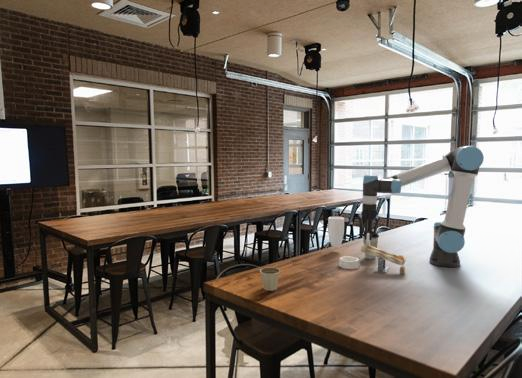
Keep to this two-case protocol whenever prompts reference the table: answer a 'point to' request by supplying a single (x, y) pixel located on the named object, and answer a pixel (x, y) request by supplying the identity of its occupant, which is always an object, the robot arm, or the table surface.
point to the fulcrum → (385, 267)
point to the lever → (382, 254)
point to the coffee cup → (371, 244)
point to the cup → (336, 231)
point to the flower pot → (270, 278)
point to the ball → (400, 257)
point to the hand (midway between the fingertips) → (368, 245)
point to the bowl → (349, 262)
